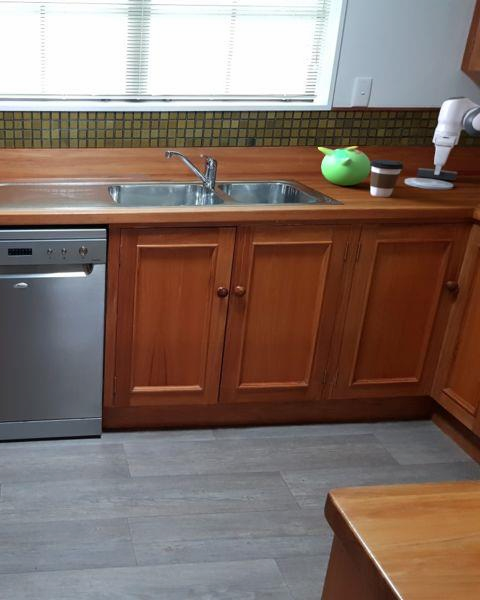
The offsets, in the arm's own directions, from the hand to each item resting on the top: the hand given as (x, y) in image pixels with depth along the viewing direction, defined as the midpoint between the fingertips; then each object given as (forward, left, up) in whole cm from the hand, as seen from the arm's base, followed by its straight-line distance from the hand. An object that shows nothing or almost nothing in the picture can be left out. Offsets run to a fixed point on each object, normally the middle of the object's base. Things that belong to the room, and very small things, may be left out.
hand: (436, 173), depth 249 cm
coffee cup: (+16, +46, -3) cm, 49 cm away
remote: (0, 0, -2) cm, 2 cm away
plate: (+2, +14, -2) cm, 14 cm away
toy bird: (+31, +36, -3) cm, 48 cm away
